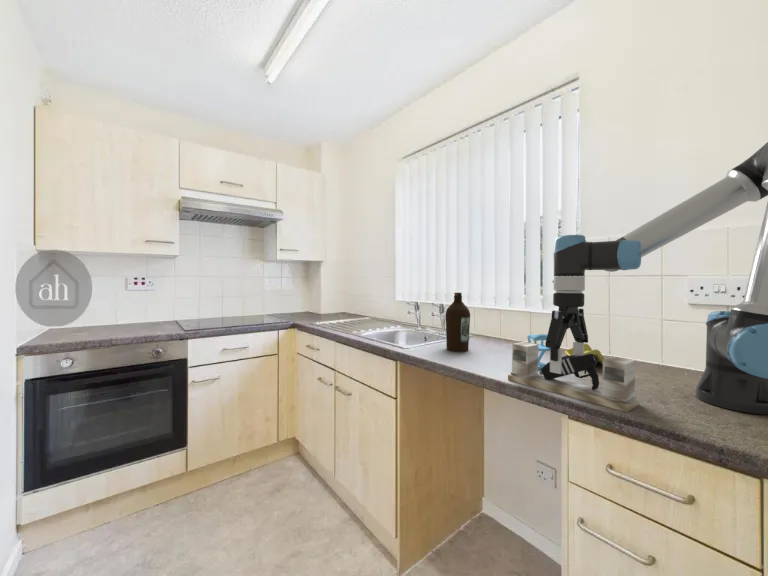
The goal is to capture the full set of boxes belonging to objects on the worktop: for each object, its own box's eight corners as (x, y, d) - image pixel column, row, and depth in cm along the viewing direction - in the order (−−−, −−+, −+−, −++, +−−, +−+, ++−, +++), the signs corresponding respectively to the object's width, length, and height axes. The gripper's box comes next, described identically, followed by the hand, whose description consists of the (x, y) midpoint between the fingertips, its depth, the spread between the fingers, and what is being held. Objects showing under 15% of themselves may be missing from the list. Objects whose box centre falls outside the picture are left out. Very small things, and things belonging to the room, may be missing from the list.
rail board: (639, 404, 83) (640, 360, 82) (627, 412, 78) (628, 365, 78) (522, 375, 107) (522, 341, 107) (507, 379, 103) (508, 343, 102)
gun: (554, 397, 97) (539, 364, 100) (611, 385, 85) (592, 347, 89) (549, 399, 95) (534, 365, 99) (606, 387, 84) (587, 348, 87)
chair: (543, 363, 123) (543, 331, 122) (555, 369, 114) (556, 334, 114) (522, 363, 123) (523, 331, 122) (533, 369, 114) (533, 334, 114)
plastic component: (563, 350, 134) (589, 341, 131) (572, 368, 133) (599, 359, 130) (571, 357, 116) (601, 347, 113) (581, 378, 115) (612, 368, 111)
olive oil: (440, 349, 146) (440, 292, 146) (453, 346, 154) (454, 291, 153) (461, 353, 139) (462, 293, 138) (474, 349, 147) (475, 292, 146)
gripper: (574, 290, 102) (573, 359, 103) (531, 292, 87) (530, 373, 88) (602, 291, 96) (600, 364, 97) (561, 293, 81) (559, 380, 82)
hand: (567, 368), depth 92 cm, fingers open, 13 cm apart
